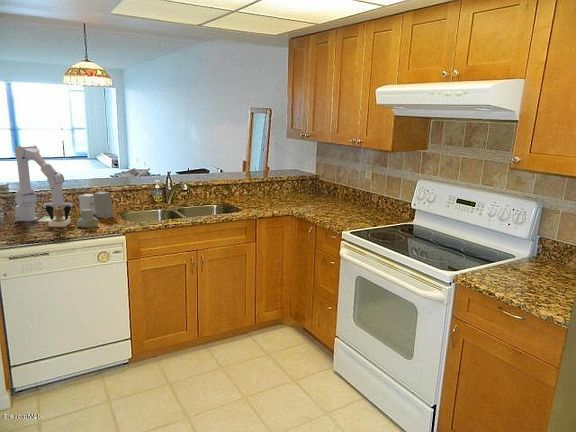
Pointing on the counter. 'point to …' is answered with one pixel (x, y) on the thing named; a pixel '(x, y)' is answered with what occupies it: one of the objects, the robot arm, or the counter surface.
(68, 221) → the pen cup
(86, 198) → the supplement box
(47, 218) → the tray
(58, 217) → the dowel
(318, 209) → the counter surface
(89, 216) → the air freshener
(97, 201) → the skincare box
